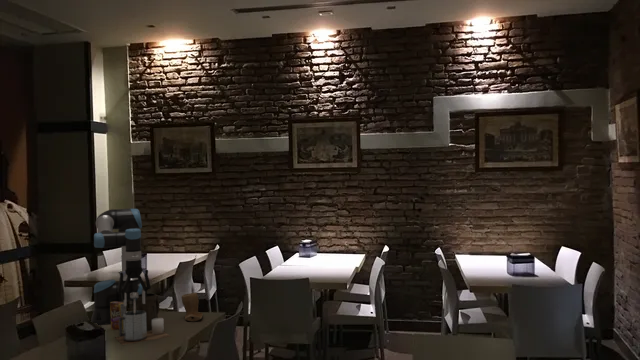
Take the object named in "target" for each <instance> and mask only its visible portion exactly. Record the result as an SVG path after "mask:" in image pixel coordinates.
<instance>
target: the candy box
mask: <svg viewBox="0 0 640 360" xmlns="http://www.w3.org/2000/svg"><path fill="white" fill-rule="evenodd" d="M127 310H128V309H127V306H124V302H118V301H114V302H110V312H111V324H110V330H111V331H115V330H119V318H122V317H123V313H126V312H128V311H127ZM122 330H124V327H123V320H122Z"/></svg>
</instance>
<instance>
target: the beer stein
mask: <svg viewBox="0 0 640 360" xmlns="http://www.w3.org/2000/svg"><path fill="white" fill-rule="evenodd" d="M136 310H141V311H145V312H146V327H147V332H150V331H152V319H155V318H159V317H158V316H159V311H160V301H159V294H156V293H148V292H147V297H145V304H143V303H142V294H140V295H139V298H137V300H136Z"/></svg>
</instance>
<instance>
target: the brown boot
mask: <svg viewBox="0 0 640 360" xmlns="http://www.w3.org/2000/svg"><path fill="white" fill-rule="evenodd" d="M199 301H200V300H199V295H198V293H197V292H191V293H186V294H183V295H181V303H182V305H183V307H184V310H185V316H184V320H185V321H189V322H197V321H200V320H201V319H202V318H203V312H199Z"/></svg>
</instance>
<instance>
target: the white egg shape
mask: <svg viewBox="0 0 640 360" xmlns="http://www.w3.org/2000/svg"><path fill="white" fill-rule="evenodd" d="M164 322H165V320H164V318H163V317H158V318H155V319H152V330H151V331H152V334H162V333H164V332H165V331H164V329H165V328H164V327H165V326H164V325H165V323H164Z"/></svg>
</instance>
